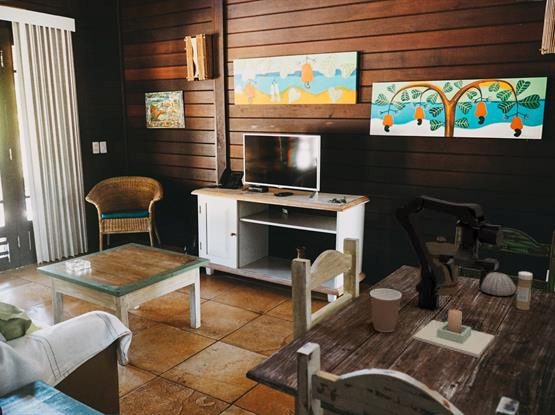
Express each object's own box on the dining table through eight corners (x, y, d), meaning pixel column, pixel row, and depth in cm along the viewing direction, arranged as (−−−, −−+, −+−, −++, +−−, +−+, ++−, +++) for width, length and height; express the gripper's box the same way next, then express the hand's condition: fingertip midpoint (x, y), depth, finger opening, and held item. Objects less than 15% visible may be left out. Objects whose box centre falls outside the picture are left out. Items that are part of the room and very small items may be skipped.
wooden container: (448, 282, 207) (451, 232, 203) (463, 295, 193) (467, 241, 189) (414, 283, 207) (416, 233, 203) (426, 296, 192) (429, 241, 188)
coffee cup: (403, 324, 165) (404, 290, 163) (396, 336, 156) (398, 301, 154) (373, 319, 170) (374, 286, 167) (365, 331, 160) (366, 296, 158)
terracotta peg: (445, 336, 154) (446, 312, 153) (449, 331, 157) (451, 308, 156) (458, 339, 152) (459, 315, 150) (462, 335, 155) (463, 311, 153)
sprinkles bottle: (532, 308, 179) (535, 273, 176) (525, 311, 176) (528, 275, 174) (520, 304, 182) (523, 270, 180) (513, 307, 180) (516, 272, 177)
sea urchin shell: (472, 288, 200) (473, 269, 199) (500, 285, 204) (501, 267, 202) (493, 299, 188) (495, 280, 186) (523, 296, 191) (525, 277, 190)
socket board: (413, 338, 155) (413, 328, 154) (432, 322, 167) (433, 312, 166) (478, 357, 142) (479, 346, 142) (494, 338, 154) (494, 328, 154)
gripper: (433, 241, 166) (431, 285, 168) (491, 250, 154) (487, 297, 157) (445, 235, 174) (442, 277, 177) (500, 243, 163) (497, 288, 165)
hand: (466, 284), depth 169 cm, fingers open, 9 cm apart
